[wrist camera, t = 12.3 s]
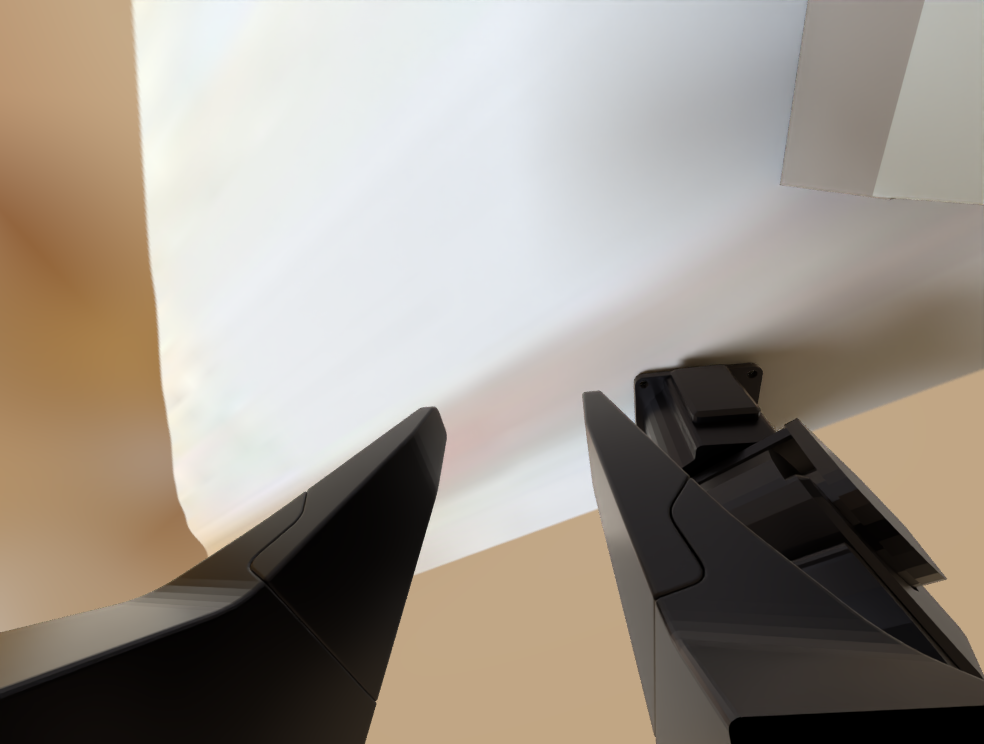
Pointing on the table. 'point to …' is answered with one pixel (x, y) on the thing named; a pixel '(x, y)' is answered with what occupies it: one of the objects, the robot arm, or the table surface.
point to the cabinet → (847, 92)
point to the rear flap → (940, 110)
